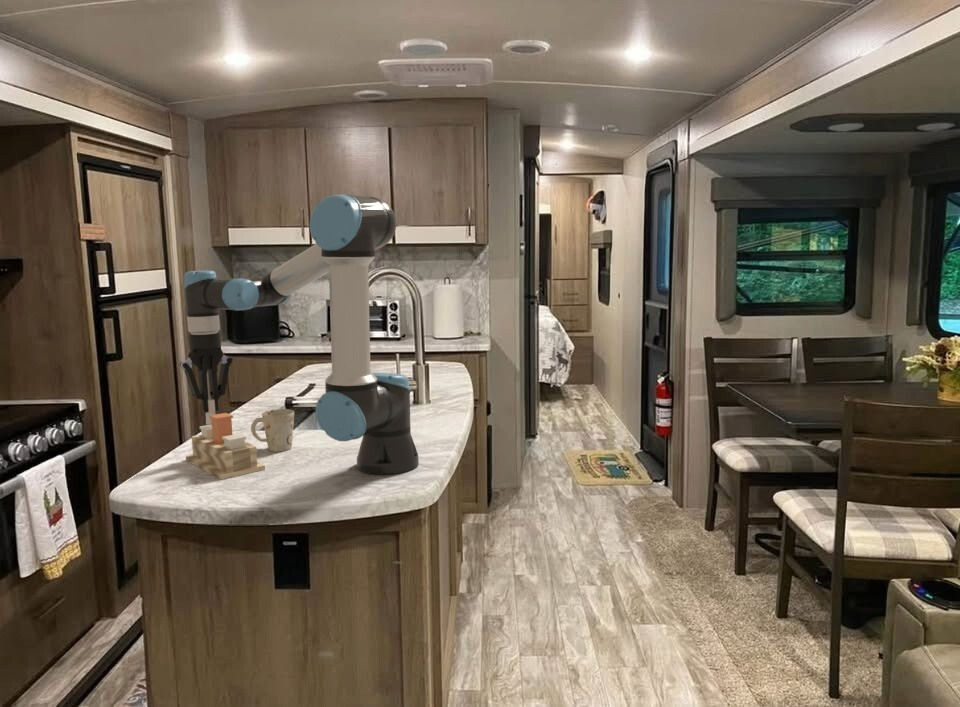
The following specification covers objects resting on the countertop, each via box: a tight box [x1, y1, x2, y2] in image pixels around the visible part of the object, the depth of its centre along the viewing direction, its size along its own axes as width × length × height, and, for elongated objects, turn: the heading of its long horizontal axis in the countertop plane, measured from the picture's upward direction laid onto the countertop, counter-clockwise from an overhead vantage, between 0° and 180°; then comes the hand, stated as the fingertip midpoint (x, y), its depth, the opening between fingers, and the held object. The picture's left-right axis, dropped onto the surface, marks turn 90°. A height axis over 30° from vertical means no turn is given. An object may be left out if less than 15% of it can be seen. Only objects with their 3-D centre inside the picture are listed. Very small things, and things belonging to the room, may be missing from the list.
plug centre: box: [209, 412, 234, 445], centre depth 185 cm, size 4×4×7 cm
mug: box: [250, 408, 295, 453], centre depth 200 cm, size 8×13×10 cm, turn 78°
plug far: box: [199, 424, 213, 439], centre depth 191 cm, size 4×4×7 cm
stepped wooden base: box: [185, 434, 266, 480], centre depth 186 cm, size 22×11×6 cm, turn 42°
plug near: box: [222, 433, 247, 450], centre depth 180 cm, size 4×4×7 cm
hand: (211, 424), depth 190 cm, fingers closed
